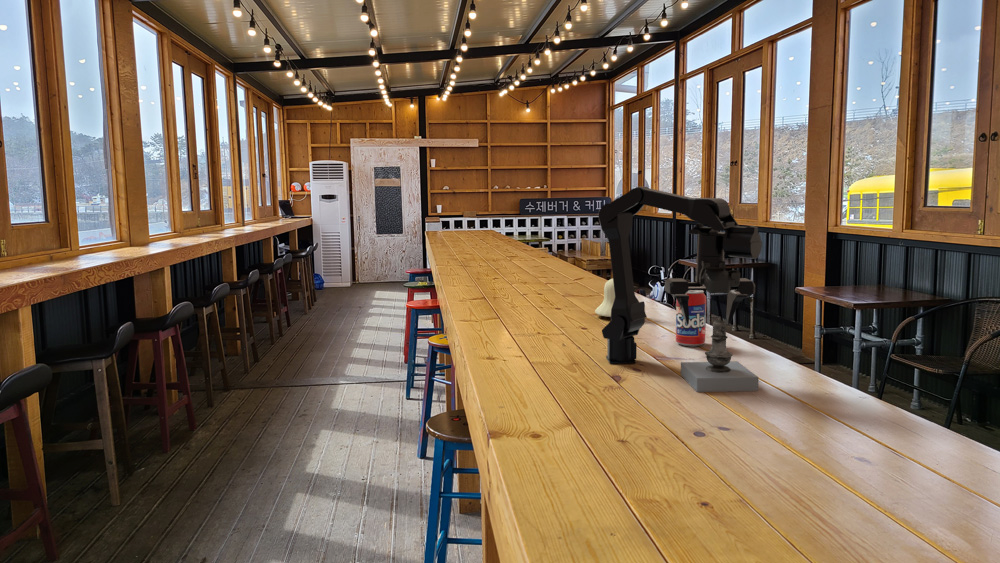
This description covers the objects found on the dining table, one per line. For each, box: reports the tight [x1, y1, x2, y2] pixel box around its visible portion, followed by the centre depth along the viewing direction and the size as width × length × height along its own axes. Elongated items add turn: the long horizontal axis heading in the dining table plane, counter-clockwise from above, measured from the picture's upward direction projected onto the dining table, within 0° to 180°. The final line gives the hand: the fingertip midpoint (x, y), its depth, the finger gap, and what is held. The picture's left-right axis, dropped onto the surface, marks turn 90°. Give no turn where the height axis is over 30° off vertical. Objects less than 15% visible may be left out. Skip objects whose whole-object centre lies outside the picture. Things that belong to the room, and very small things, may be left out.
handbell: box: [594, 278, 615, 318], centre depth 222 cm, size 15×15×25 cm
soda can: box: [675, 290, 707, 348], centre depth 183 cm, size 8×8×15 cm
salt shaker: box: [704, 315, 734, 373], centre depth 148 cm, size 6×6×12 cm
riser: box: [680, 360, 760, 393], centre depth 149 cm, size 13×13×3 cm
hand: (707, 323), depth 151 cm, fingers open, 9 cm apart
